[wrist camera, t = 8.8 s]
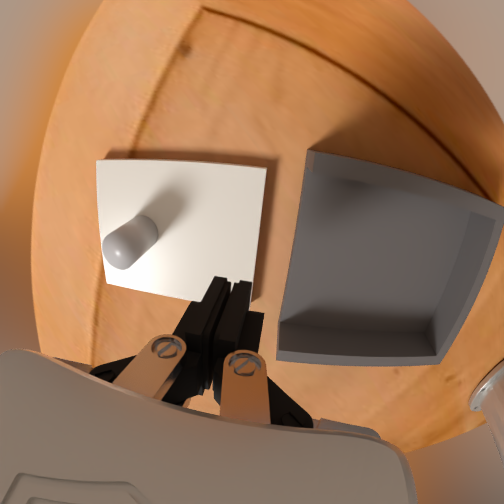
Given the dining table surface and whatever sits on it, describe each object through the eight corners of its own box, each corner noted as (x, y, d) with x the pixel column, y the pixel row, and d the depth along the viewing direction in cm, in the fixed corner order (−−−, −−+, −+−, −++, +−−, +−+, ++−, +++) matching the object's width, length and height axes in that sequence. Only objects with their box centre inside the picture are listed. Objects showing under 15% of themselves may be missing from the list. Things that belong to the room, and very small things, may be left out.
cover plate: (267, 166, 17) (262, 177, 12) (251, 298, 21) (243, 342, 16) (107, 158, 17) (64, 168, 13) (115, 274, 22) (84, 305, 17)
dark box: (475, 194, 15) (507, 208, 11) (423, 334, 20) (439, 364, 17) (307, 149, 15) (315, 152, 12) (277, 324, 21) (276, 360, 17)
